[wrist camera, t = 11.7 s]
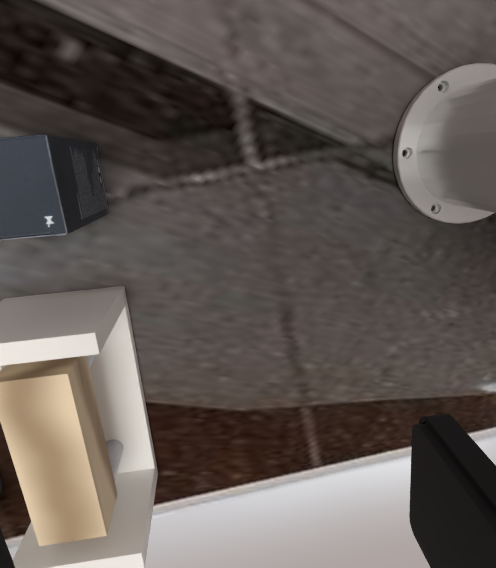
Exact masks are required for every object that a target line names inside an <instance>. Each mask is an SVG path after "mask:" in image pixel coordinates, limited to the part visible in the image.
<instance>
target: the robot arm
mask: <svg viewBox="0 0 496 568" xmlns="http://www.w3.org/2000/svg"><path fill="white" fill-rule="evenodd" d="M438 86H439V88H440V89H439V90H438ZM403 150H404V152H405V154H404V156H402V152H403ZM393 163H394V172H395V175H396V179H397V182H398V185H399V187H400V189H401V191H402V193H403V195H404V197H405V198H406V199H407V200H408V202H409V203H410V204H411V205H412V206H413V207H414V208H415V209H417V210H418V211H419V212H420V213H422V214H423V215H425V216H428V217H430V218H432V219H434V220H438V221H442V222H446V223H456V224H460V223H470V222H474V221H477V220H481V219H484V218H486V217H488V216H490V215H492V214H494V213H496V65H495V64H490V63H474V64H469V65H463V66H460V67H457V68H455V69H452V70H449V71H447V72H445V73H443V74H442V75H440V76H438V77H436V78H435V79H433V80H432V81H431V82H429V83H428V84H427V85H426V86H424V87H423V88H422V89H421V91H420V92H419V93H418V94H417V95H416V96H415V97H414V98H413V100H412V101H411V103H410V104H409V106H408V107H407V109H406V111H405V112H404V114H403V116H402V119H401V121H400V123H399V126H398V129H397V133H396V137H395V141H394V151H393ZM432 206H433V208H432ZM431 208H432V210H431ZM410 524H411V528H412V531H413V533H414V536H415V538H416V540H417V542H418V544H419V546H420V548H421V550H422V551H423V554H424V556H425V558H426V559H427V561H428V563H429V565H430V567H431V568H496V466H495V465H494V463H493V462H492V461H491V460H490V459H489V458H488V457H487V455H486V454H485V453H484V452H483V451H482V450H481V449H480V448H479V446H478V445H477V444H476V443H475V442H474V441H473V440H472V439H471V437H470V436H469V435H468V434H467V433H466V432H465V431H464V430H463V428H462V427H461V426H460V425H459V424H458V423H457V422H456V421H455V419H454V418H453V417H452V416H450V415H449V414H440V415H433V416H425V417H421V418H420V420H419V424H418V425H414V426H413V429H412V455H411V487H410ZM0 568H15V566H14V563H13V560H12V558H11V555H10V553H9V550H8V547H7V545H6V542H5V540H4V537H3V534H2V532H1V529H0Z"/></svg>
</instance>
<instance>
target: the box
mask: <svg viewBox="0 0 496 568" xmlns="http://www.w3.org/2000/svg"><path fill="white" fill-rule="evenodd" d="M107 214H108V206H107V200H106V194H105V188H104V183H103V177H102V171H101V166H100V160H99V154H98V147H97V145H96V143H92V142H86V141H80V140H75V139H70V138H64V137H58V136H52V135H45V134H42V135H29V136H19V137H6V138H0V240H9V239H19V238H32V237H43V236H59V235H66V234H68V233H71V232H73V231H75V230H77V229H79V228H81V227H83V226H85V225H87V224H89V223H91V222H93V221H94V220H97V219H99V218H101V217H103V216H105V215H107Z"/></svg>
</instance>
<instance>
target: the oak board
mask: <svg viewBox="0 0 496 568" xmlns="http://www.w3.org/2000/svg"><path fill="white" fill-rule="evenodd" d="M0 422H1V425H2V428H3V431H4V434H5V438H6V441H7V444H8V447H9V450H10V454H11V457H12V460H13V463H14V467H15V470H16V473H17V476H18V479H19V483H20V486H21V489H22V492H23V495H24V499H25V502H26V505H27V508H28V511H29V515H30V518H31V521H32V524H33V527H34V531H35V534H36V537H37V540H38V544H39V546H44V545H51V544H57V543H64V542H71V541H77V540H84V539H90V538H97V537H103V536H107V534H108V530H109V526H110V522H111V518H112V514H113V510H114V506H115V502H116V498H117V490H116V486H115V481H114V477H113V473H112V468H111V464H110V459H109V455H108V450H107V446H106V441H105V437H104V432H103V428H102V423H101V419H100V414H99V410H98V405H97V401H96V396H95V392H94V387H93V383H92V379H91V374H90V370H89V365H88V361H87V356H79V357H71V358H62V359H54V360H45V361H37V362H28V363H20V364H11V365H6V366H5V367H4V368H3V369H2V370H1V371H0Z"/></svg>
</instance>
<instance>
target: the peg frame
mask: <svg viewBox="0 0 496 568" xmlns="http://www.w3.org/2000/svg"><path fill="white" fill-rule="evenodd" d="M79 356H87V361H88V365H89V370H90V374H91V379H92V383H93V387H94V392H95V396H96V401H97V405H98V410H99V414H100V419H101V423H102V428H103V432H104V437H105V441H106V446H107V450H108V455H109V459H110V464H111V468H112V473H113V477H114V481H115V486H116V490H117V498H116V502H115V506H114V510H113V514H112V518H111V522H110V526H109V530H108V534H107V536H103V537H97V538H90V539H84V540H77V541H71V542H64V543H57V544H51V545H44V546H39V544H38V540H37V537H36V534H35V531H34V527H33V524H32V521H31V523H30V525H29V527H28V529H27V531H26V534H25V536H24V538H23V540H22V542H21V544H20V546H19V548H18V550H17V553H16V555H15V557H14V559H13V563H14V566H15V568H144V567H145V560H146V553H147V546H148V539H149V532H150V525H151V518H152V511H153V504H154V498H155V491H156V484H157V477H158V470H157V464H156V459H155V453H154V448H153V442H152V437H151V431H150V426H149V420H148V415H147V409H146V404H145V398H144V392H143V387H142V381H141V376H140V370H139V365H138V359H137V354H136V348H135V343H134V337H133V331H132V326H131V320H130V315H129V309H128V304H127V298H126V293H125V287H124V286H116V287H107V288H97V289H88V290H78V291H69V292H59V293H50V294H41V295H31V296H22V297H12V298H4V299H3V300H1V301H0V371H1V370H2V369H3V368H4V367H5V366H6V365H11V364H20V363H28V362H37V361H45V360H54V359H62V358H71V357H79Z"/></svg>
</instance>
